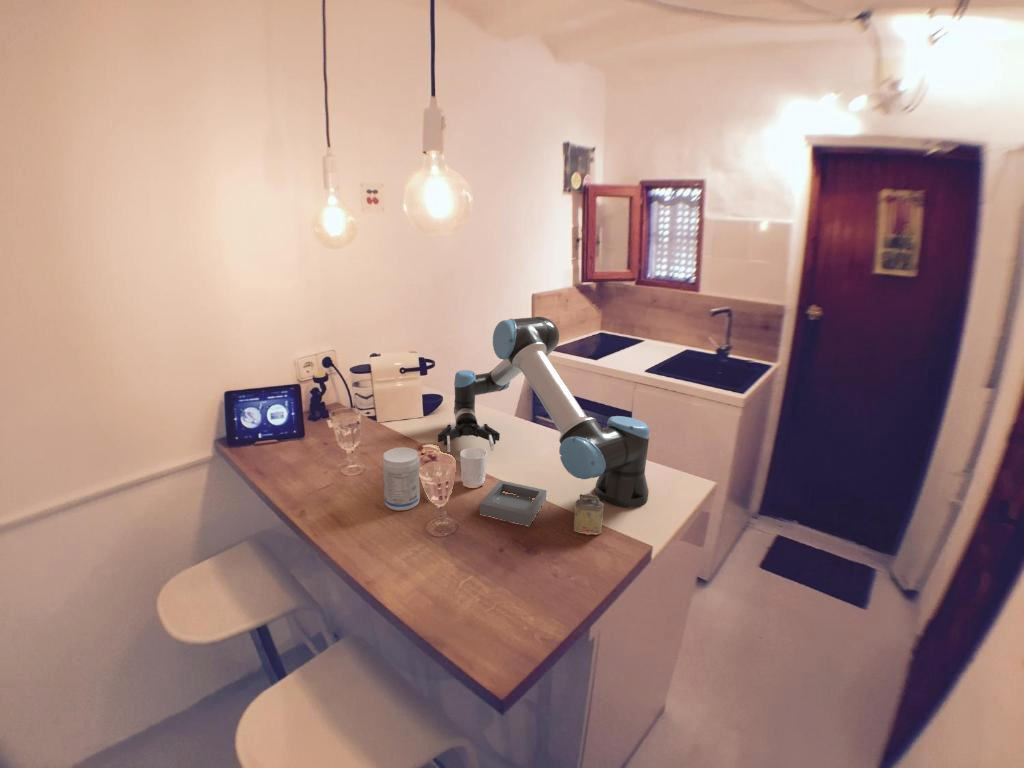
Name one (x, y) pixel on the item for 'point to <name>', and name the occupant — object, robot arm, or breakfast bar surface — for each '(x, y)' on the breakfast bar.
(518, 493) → the slate coaster tray
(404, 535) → the breakfast bar surface
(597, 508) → the lighter
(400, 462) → the supplement tub
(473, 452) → the white cup
